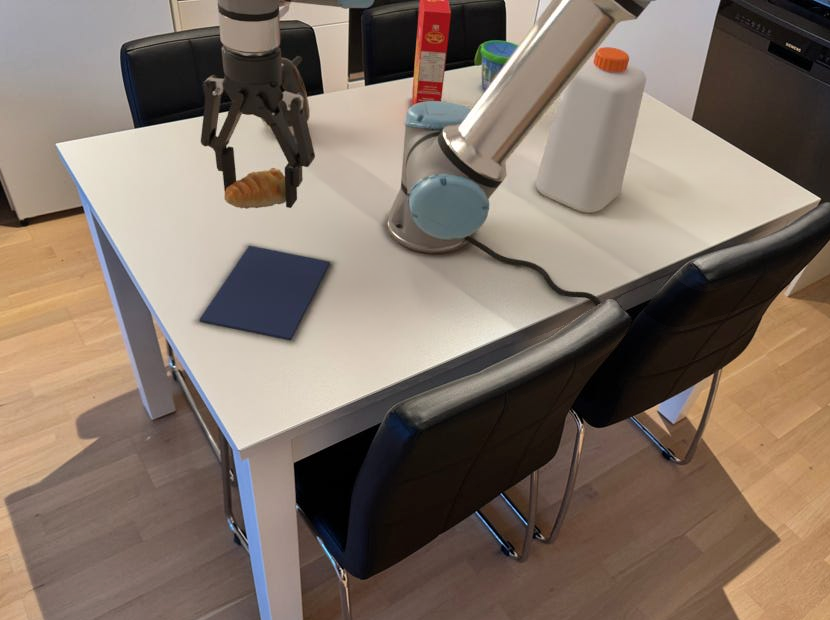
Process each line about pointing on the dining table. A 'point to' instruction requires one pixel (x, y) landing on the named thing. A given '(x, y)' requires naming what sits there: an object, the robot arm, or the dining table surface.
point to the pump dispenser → (291, 89)
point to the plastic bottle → (592, 133)
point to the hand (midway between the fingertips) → (261, 196)
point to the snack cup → (493, 58)
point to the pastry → (257, 190)
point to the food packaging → (431, 50)
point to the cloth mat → (266, 292)
